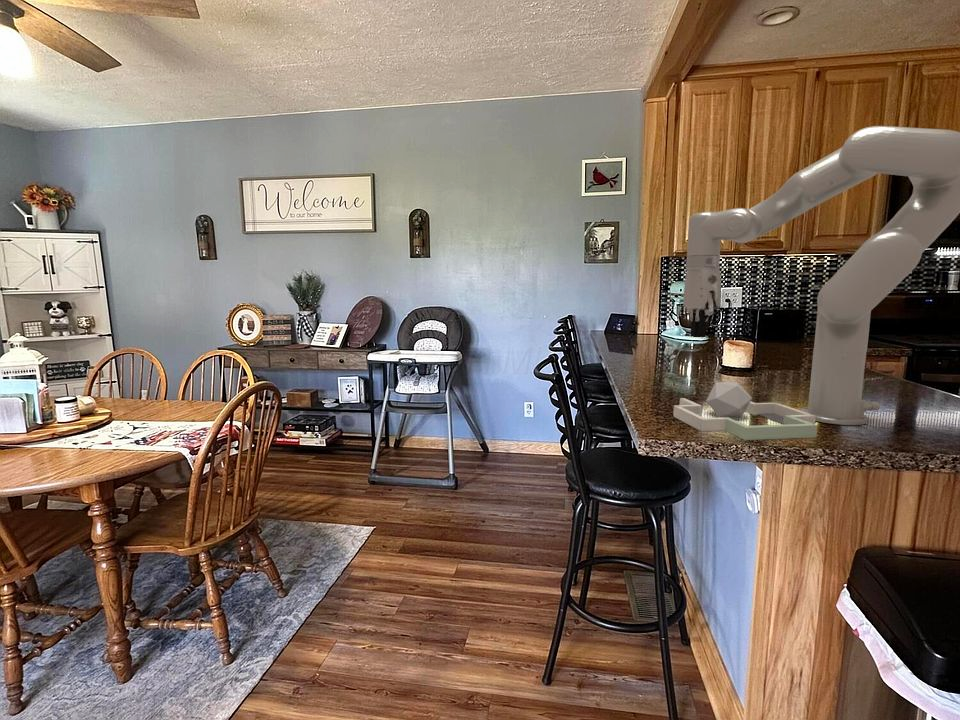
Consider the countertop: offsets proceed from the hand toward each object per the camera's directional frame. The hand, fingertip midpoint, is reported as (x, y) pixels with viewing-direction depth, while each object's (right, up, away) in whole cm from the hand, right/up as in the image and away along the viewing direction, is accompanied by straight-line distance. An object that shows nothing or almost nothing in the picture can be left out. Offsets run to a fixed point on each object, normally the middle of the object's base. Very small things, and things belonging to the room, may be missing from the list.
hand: (697, 336), depth 126 cm
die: (+2, -19, -12) cm, 22 cm away
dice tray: (+2, -20, -17) cm, 26 cm away
